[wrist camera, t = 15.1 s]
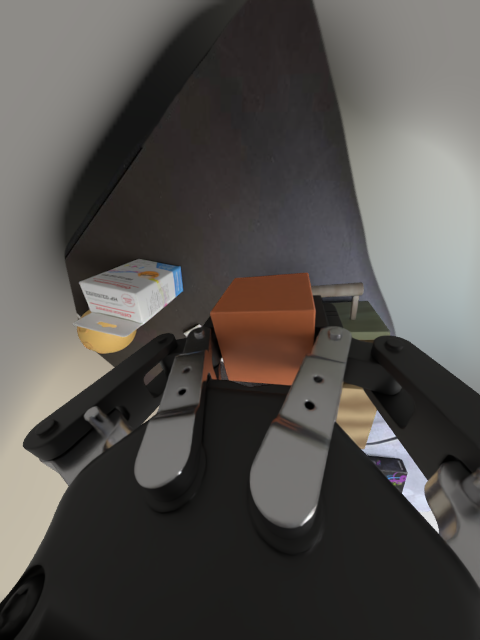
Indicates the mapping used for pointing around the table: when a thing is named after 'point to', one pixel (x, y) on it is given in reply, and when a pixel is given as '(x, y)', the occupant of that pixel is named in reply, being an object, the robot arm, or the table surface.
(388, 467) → the box
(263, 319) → the block
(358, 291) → the drawer
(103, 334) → the stress ball
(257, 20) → the table surface
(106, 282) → the ink box
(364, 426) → the cabinet
